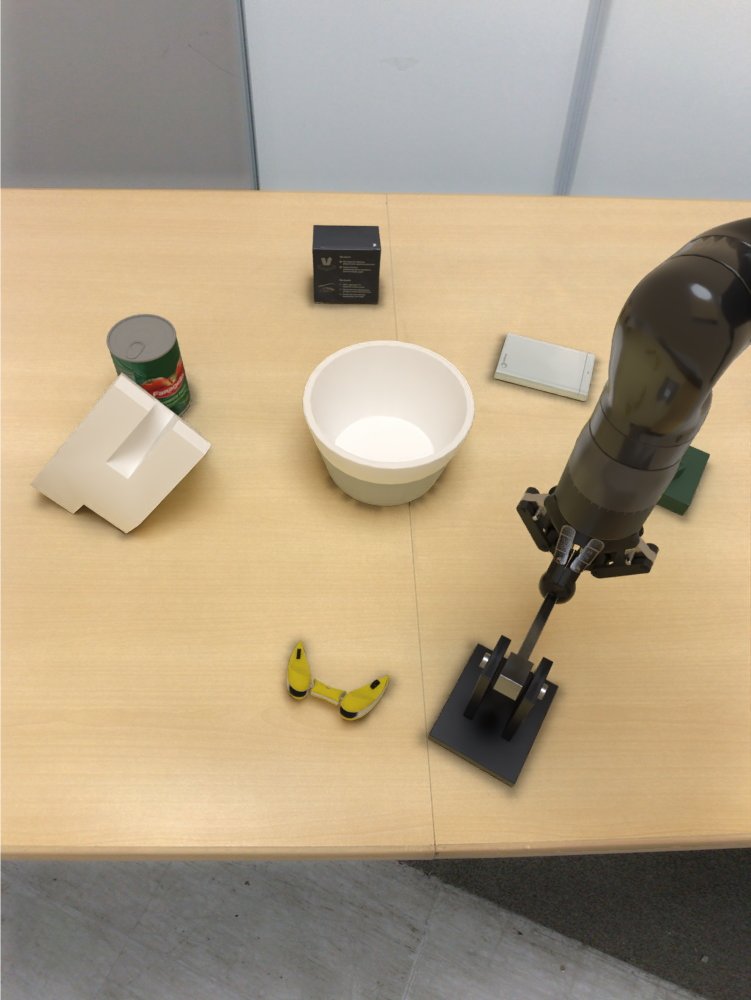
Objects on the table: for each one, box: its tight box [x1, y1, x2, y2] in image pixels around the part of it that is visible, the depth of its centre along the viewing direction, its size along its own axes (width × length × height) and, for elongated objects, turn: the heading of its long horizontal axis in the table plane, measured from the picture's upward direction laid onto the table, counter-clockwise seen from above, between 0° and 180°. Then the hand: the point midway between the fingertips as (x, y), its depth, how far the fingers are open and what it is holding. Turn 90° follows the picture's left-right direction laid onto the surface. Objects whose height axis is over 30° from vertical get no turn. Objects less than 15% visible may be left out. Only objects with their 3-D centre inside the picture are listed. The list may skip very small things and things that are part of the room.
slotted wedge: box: [29, 373, 212, 534], centre depth 81 cm, size 14×11×18 cm
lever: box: [493, 570, 577, 701], centre depth 69 cm, size 15×4×4 cm, turn 150°
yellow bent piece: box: [285, 640, 390, 721], centre depth 73 cm, size 10×6×4 cm, turn 68°
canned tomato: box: [105, 313, 192, 418], centre depth 90 cm, size 8×8×11 cm
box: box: [311, 224, 382, 305], centre depth 104 cm, size 9×6×10 cm, turn 92°
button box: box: [656, 445, 711, 516], centre depth 90 cm, size 11×9×4 cm
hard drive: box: [493, 331, 597, 402], centre depth 100 cm, size 2×8×12 cm
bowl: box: [301, 339, 476, 507], centre depth 87 cm, size 19×19×11 cm
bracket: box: [427, 634, 559, 788], centre depth 69 cm, size 11×9×12 cm
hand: (560, 577), depth 72 cm, fingers closed
